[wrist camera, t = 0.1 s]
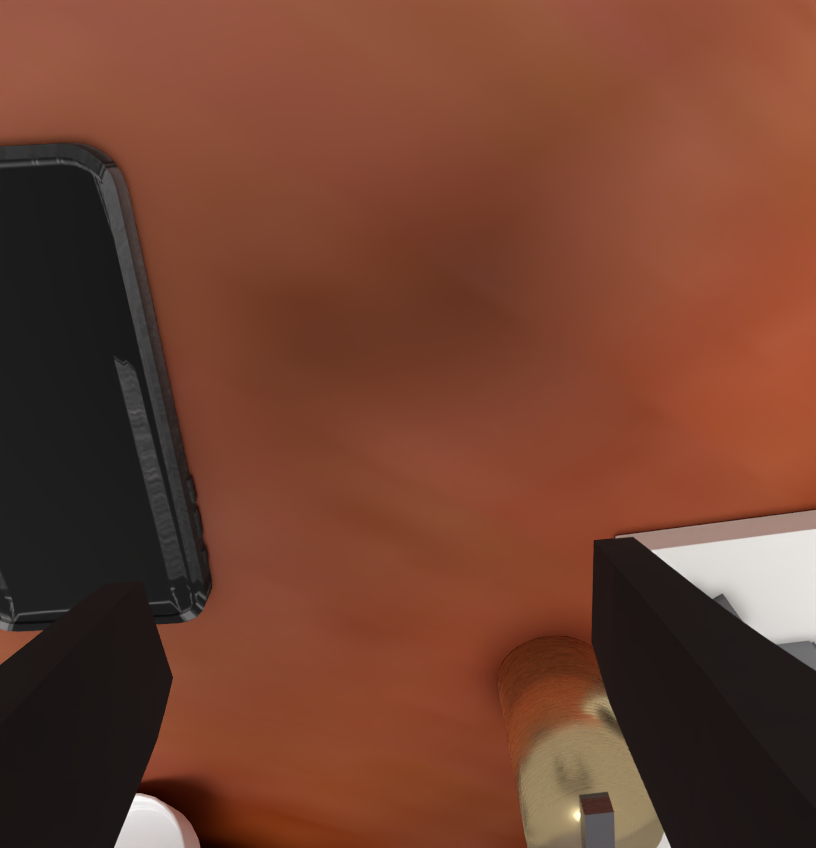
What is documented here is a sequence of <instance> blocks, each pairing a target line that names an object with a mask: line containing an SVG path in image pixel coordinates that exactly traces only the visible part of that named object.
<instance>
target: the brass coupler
mask: <svg viewBox="0 0 816 848" xmlns="http://www.w3.org/2000/svg"><path fill="white" fill-rule="evenodd" d="M497 685H498V691H499V696H500V702H501V707H502V713H503V718H504V723H505V729H506V734H507V740H508V745H509V751H510V756H511V761H512V767H513V772H514V778H515V783H516V789H517V794H518V799H519V805H520V810H521V816H522V821H523V827H524V832H525V838H526V843H527V848H657V847H658V845H659V843H660V841H661V840H662V837H663V834H664V830H663V828H662V826H661V823H660V821H659V819H658V816H657V814H656V812H655V809H654V807H653V805H652V802H651V800H650V798H649V795H648V793H647V791H646V788H645V786H644V784H643V781H642V779H641V777H640V774H639V772H638V770H637V767H636V765H635V763H634V760H633V758H632V756H631V753H630V751H629V749H628V746H627V744H626V741H625V739H624V737H623V734H622V732H621V730H620V727H619V725H618V722H617V720H616V718H615V715H614V713H613V710H612V708H611V706H610V703H609V700H608V697H607V693H606V690H605V687H604V684H603V680H602V677H601V674H600V670H599V666H598V663H597V659H596V656H595V652H594V649H593V648H592V647H590V646H589V645H588V644H586V643H584V642H582V641H580V640H577V639H574V638H570V637H564V636H547V637H542V638H538V639H534V640H531V641H529V642H526V643H524V644H522V645H521V646H519V647H517V648H516V649H515V650H513V651H512V652H511V653H510V654H509V655H508V656H507V657H506V658H505V660H504V661H503V663H502V664H501V666H500V668H499V672H498V676H497Z"/></svg>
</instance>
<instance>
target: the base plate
mask: <svg viewBox="0 0 816 848" xmlns="http://www.w3.org/2000/svg"><path fill="white" fill-rule="evenodd" d="M625 537H634V538H635V539H637V540H638V541H639V542H641V543H642V544H643V545H644V546H646V547H647V548H648V549H649V550H651V551H652V552H653V553H654V554H656V555H657V556H658V557H659V558H661V559H662V560H663V561H664V562H666V563H667V564H668V565H669V566H671V567H672V568H673V569H674V570H676V571H677V572H678V573H680V574H681V575H682V576H683V577H685V578H686V579H687V580H688V581H690V582H691V583H692V584H694V585H695V586H696V587H697V588H699V589H700V590H701V591H703V592H704V593H705V594H706V595H708V596H709V597H710V598H712V599H713V598H715V597H717V596H719V595H720V594H722V593H723V595H724V596H725V597H726V599H727V600H728V601H729V603H730V604H731V605H732V607H733V608H734V610H735V611H736V612H737V614H738V615H739V616H740V618H741V619H742V620H743V622H744V623H746V624H747V625H749V626H750V627H751V628H753V629H754V630H756V631H757V632H758V633H760V634H761V635H763V636H764V637H766V638H767V639H769V640H770V641H772V642H773V643H775V644H776V645H778V646H779V647H781V648H782V649H784V650H785V651H787V652H788V653H790V654H791V655H793V656H794V657H796V658H797V659H799V660H800V661H802V662H803V663H805V664H806V665H808V666H809V667H811V668H813V669H814V670H816V510H811V511H804V512H796V513H788V514H781V515H773V516H765V517H758V518H750V519H742V520H735V521H727V522H719V523H712V524H704V525H696V526H688V527H681V528H673V529H665V530H658V531H650V532H642V533H635V534H627V535H619V536H615V538H625ZM657 848H671V847H670V844H669V842H668V840H667V837H666V835H665V833H664V834H663V837H662V840H661V841H660V843H659V845H658V847H657Z"/></svg>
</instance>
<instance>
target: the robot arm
mask: <svg viewBox="0 0 816 848" xmlns="http://www.w3.org/2000/svg"><path fill="white" fill-rule="evenodd" d="M592 645H593V649H594V652H595V656H596V659H597V663H598V666H599V670H600V674H601V677H602V680H603V684H604V687H605V690H606V693H607V697H608V700H609V703H610V706H611V708H612V710H613V713H614V715H615V718H616V720H617V722H618V725H619V727H620V730H621V732H622V734H623V737H624V739H625V741H626V744H627V746H628V749H629V751H630V753H631V756H632V758H633V760H634V763H635V765H636V767H637V770H638V772H639V774H640V777H641V779H642V781H643V784H644V786H645V788H646V791H647V793H648V795H649V798H650V800H651V802H652V805H653V807H654V809H655V812H656V814H657V816H658V819H659V821H660V823H661V826H662V828H663V830H664V833H665V835H666V837H667V840H668V842H669V844H670V847H671V848H816V670H814V669H813V668H811V667H809V666H808V665H806V664H805V663H803V662H802V661H800V660H799V659H797V658H796V657H794V656H793V655H791V654H790V653H788V652H787V651H785V650H784V649H782V648H781V647H779V646H778V645H776V644H775V643H773V642H772V641H770V640H769V639H767V638H766V637H764V636H763V635H761V634H760V633H758V632H757V631H756V630H754V629H753V628H751V627H750V626H749V625H747V624H746V623H744V622H743V621H742V620H740V619H739V618H737V617H736V616H735V615H733V614H732V613H731V612H729V611H728V610H726V609H725V608H724V607H722V606H721V605H720V604H718V603H717V602H716V601H714V600H713V599H712V598H710V597H709V596H708V595H706V594H705V593H704V592H703V591H701V590H700V589H699V588H697V587H696V586H695V585H694V584H692V583H691V582H690V581H688V580H687V579H686V578H685V577H683V576H682V575H681V574H680V573H678V572H677V571H676V570H674V569H673V568H672V567H671V566H669V565H668V564H667V563H666V562H664V561H663V560H662V559H661V558H659V557H658V556H657V555H656V554H654V553H653V552H652V551H651V550H649V549H648V548H647V547H646V546H644V545H643V544H642V543H641V542H639V541H638V540H637V539H635V538H634V537H625V538H614V539H602V540H594V556H593V600H592ZM172 680H173V676H172V673H171V670H170V667H169V664H168V661H167V658H166V655H165V651H164V648H163V645H162V642H161V639H160V636H159V633H158V630H157V627H156V623H155V620H154V617H153V614H152V611H151V608H150V605H149V602H148V599H147V595H146V592H145V589H144V586H143V583H142V581H134V582H123V583H112V584H104V585H103V586H101V587H100V588H98V589H97V590H95V591H94V592H92V593H91V594H90V595H88V596H87V597H86V598H84V599H83V600H82V601H80V602H79V603H78V604H76V605H75V606H74V607H73V608H71V609H70V610H69V611H67V612H66V613H65V614H64V615H62V616H61V617H60V618H59V619H57V620H56V621H55V622H54V623H52V624H51V625H50V626H49V627H47V628H46V629H45V630H44V631H42V632H41V633H40V634H39V635H37V636H36V637H35V638H34V639H32V640H31V641H30V642H29V643H27V644H26V645H25V646H24V647H22V648H21V649H20V650H19V651H17V652H16V653H15V654H13V655H12V656H11V657H10V658H8V659H7V660H6V661H5V662H3V663H2V664H1V665H0V848H114V847H115V844H116V842H117V839H118V837H119V834H120V832H121V829H122V827H123V824H124V822H125V820H126V817H127V815H128V812H129V810H130V807H131V805H132V802H133V800H134V797H135V795H136V792H137V790H138V787H139V785H140V782H141V780H142V777H143V775H144V772H145V770H146V767H147V764H148V762H149V759H150V757H151V754H152V752H153V749H154V746H155V744H156V741H157V738H158V734H159V731H160V727H161V723H162V720H163V716H164V713H165V709H166V704H167V700H168V696H169V692H170V688H171V684H172Z"/></svg>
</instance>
